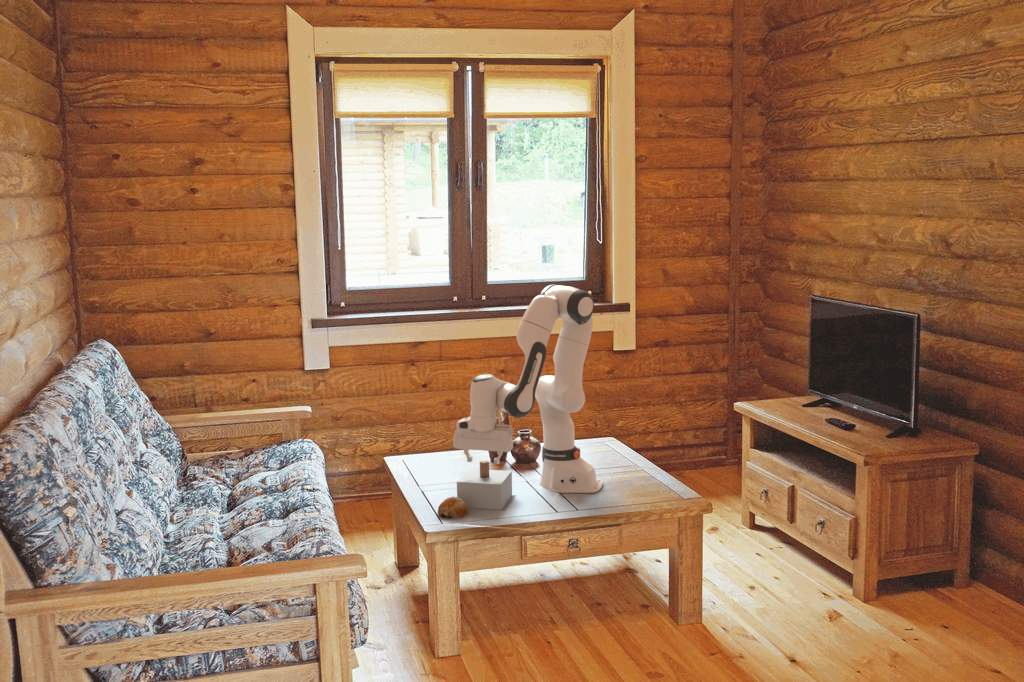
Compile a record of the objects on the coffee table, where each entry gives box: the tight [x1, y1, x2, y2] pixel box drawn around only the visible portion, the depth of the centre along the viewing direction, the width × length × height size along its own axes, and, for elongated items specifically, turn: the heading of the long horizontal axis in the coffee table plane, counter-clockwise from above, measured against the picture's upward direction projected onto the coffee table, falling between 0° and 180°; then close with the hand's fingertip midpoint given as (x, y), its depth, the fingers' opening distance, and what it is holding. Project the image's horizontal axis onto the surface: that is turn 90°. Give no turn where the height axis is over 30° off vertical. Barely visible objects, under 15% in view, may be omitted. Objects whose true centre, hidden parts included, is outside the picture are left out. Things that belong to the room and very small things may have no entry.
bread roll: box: [437, 496, 469, 520], centre depth 338 cm, size 10×10×8 cm
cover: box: [456, 460, 513, 511], centre depth 349 cm, size 15×15×14 cm
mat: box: [470, 494, 517, 512], centre depth 350 cm, size 18×16×1 cm
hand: (483, 462), depth 347 cm, fingers open, 8 cm apart
